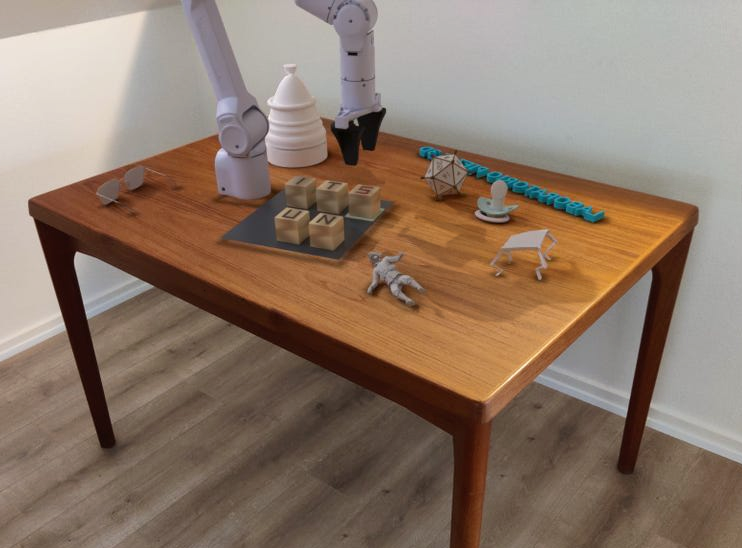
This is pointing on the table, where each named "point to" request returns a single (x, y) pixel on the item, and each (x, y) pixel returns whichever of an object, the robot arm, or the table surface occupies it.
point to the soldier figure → (392, 276)
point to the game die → (446, 174)
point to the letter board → (267, 228)
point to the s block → (364, 201)
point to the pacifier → (495, 204)
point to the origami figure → (527, 247)
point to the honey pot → (294, 125)
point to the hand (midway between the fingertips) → (360, 157)
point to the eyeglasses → (111, 188)
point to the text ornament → (524, 188)
